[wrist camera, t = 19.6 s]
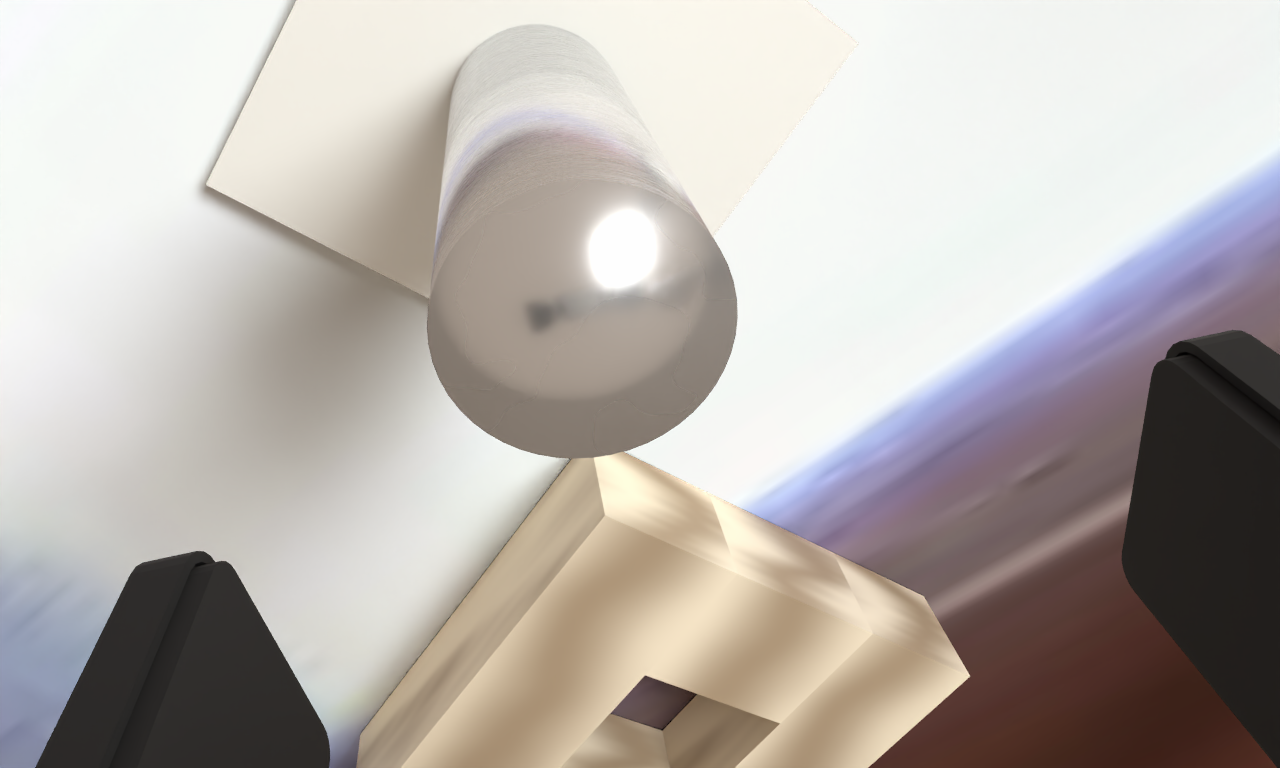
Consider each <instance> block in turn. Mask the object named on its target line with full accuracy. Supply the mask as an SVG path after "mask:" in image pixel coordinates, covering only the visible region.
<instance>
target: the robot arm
mask: <svg viewBox="0 0 1280 768" xmlns="http://www.w3.org/2000/svg"><path fill="white" fill-rule="evenodd" d="M1122 564H1123V569H1124V572H1125V575H1126V578H1127V580H1128V582H1129V584H1130V586H1131V587H1132V589H1133V590H1134V592H1135V593H1136V594H1137V595H1138V596H1139V598H1140V599H1141V600H1142V601H1143V603H1144V604H1145V605H1146V606H1147V608H1148V609H1149V610H1150V611H1151V612H1152V614H1153V615H1154V616H1155V617H1156V619H1157V620H1158V621H1159V622H1160V624H1161V625H1162V626H1163V627H1164V628H1165V630H1166V631H1167V632H1168V633H1169V635H1170V636H1171V637H1172V638H1173V640H1174V641H1175V642H1176V643H1177V644H1178V646H1179V647H1180V648H1181V649H1182V651H1183V652H1184V653H1185V654H1186V656H1187V657H1188V658H1189V659H1190V660H1191V662H1192V663H1193V664H1194V665H1195V667H1196V668H1197V669H1198V670H1199V672H1200V673H1201V674H1202V675H1203V676H1204V678H1205V679H1206V680H1207V681H1208V683H1209V684H1210V685H1211V686H1212V688H1213V689H1214V690H1215V691H1216V692H1217V694H1218V695H1219V696H1220V697H1221V699H1222V700H1223V701H1224V702H1225V704H1226V705H1227V706H1228V707H1229V708H1230V710H1231V711H1232V712H1233V713H1234V715H1235V716H1236V717H1237V718H1238V720H1239V721H1240V722H1241V723H1242V725H1243V726H1244V727H1245V728H1246V729H1247V731H1248V732H1249V733H1250V734H1251V736H1252V737H1253V738H1254V739H1255V741H1256V742H1257V743H1258V744H1259V745H1260V747H1261V748H1262V749H1263V750H1264V752H1265V753H1266V754H1267V755H1268V757H1269V758H1270V759H1271V760H1272V761H1273V763H1274V764H1275V765H1276V766H1277V768H1280V355H1279V354H1277V353H1276V352H1274V351H1273V350H1272V349H1270V348H1269V347H1267V346H1266V345H1264V344H1263V343H1262V342H1260V341H1259V340H1257V339H1256V338H1254V337H1253V336H1252V335H1250V334H1247V333H1245V332H1243V331H1238V330H1231V331H1226V332H1221V333H1217V334H1212V335H1207V336H1203V337H1198V338H1193V339H1189V340H1184V341H1180V342H1178V343H1176V344H1173V345H1172V347H1171V348H1170V349H1169V350H1168V352H1167V355H1166V358H1165V360H1162V361H1160V362H1158V363H1157V364H1156V365H1155V367H1154V369H1153V372H1152V376H1151V382H1150V388H1149V394H1148V400H1147V406H1146V412H1145V418H1144V424H1143V430H1142V436H1141V442H1140V448H1139V454H1138V460H1137V466H1136V472H1135V478H1134V484H1133V490H1132V496H1131V502H1130V508H1129V514H1128V520H1127V526H1126V532H1125V538H1124V544H1123V550H1122ZM329 762H330V748H329V740H328V736H327V732H326V730H325V728H324V726H323V724H322V722H321V720H320V719H319V717H318V715H317V713H316V712H315V710H314V708H313V706H312V705H311V703H310V701H309V699H308V698H307V696H306V694H305V692H304V691H303V689H302V687H301V685H300V684H299V682H298V680H297V678H296V677H295V675H294V673H293V671H292V669H291V668H290V666H289V664H288V662H287V661H286V659H285V657H284V655H283V654H282V652H281V650H280V648H279V647H278V645H277V643H276V641H275V640H274V638H273V636H272V634H271V633H270V631H269V629H268V627H267V626H266V624H265V622H264V620H263V619H262V617H261V615H260V613H259V612H258V610H257V608H256V606H255V605H254V603H253V601H252V599H251V598H250V596H249V594H248V592H247V591H246V589H245V587H244V585H243V584H242V582H241V580H240V578H239V577H238V575H237V573H236V571H235V570H234V568H233V567H232V566H231V564H229V563H228V562H226V561H219V562H215V561H214V560H213V559H212V557H211V556H210V555H208V554H207V553H205V552H203V551H195V552H191V553H186V554H181V555H176V556H172V557H167V558H162V559H158V560H153V561H148V562H144V563H142V564H140V565H138V566H136V567H135V569H134V570H133V572H132V573H131V574H130V576H129V578H128V580H127V582H126V584H125V587H124V589H123V591H122V593H121V595H120V597H119V599H118V601H117V603H116V605H115V607H114V609H113V611H112V613H111V615H110V617H109V619H108V621H107V623H106V625H105V627H104V629H103V631H102V633H101V635H100V637H99V639H98V641H97V643H96V645H95V647H94V649H93V652H92V654H91V656H90V658H89V660H88V662H87V664H86V666H85V668H84V670H83V672H82V674H81V676H80V678H79V680H78V682H77V684H76V686H75V688H74V690H73V692H72V694H71V696H70V698H69V700H68V702H67V704H66V706H65V708H64V710H63V712H62V714H61V717H60V719H59V721H58V723H57V725H56V727H55V729H54V731H53V733H52V735H51V737H50V739H49V741H48V743H47V745H46V747H45V749H44V751H43V753H42V755H41V757H40V759H39V761H38V763H37V765H36V767H35V768H329Z"/></svg>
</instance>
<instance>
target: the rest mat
mask: <svg viewBox="0 0 1280 768" xmlns="http://www.w3.org/2000/svg"><path fill="white" fill-rule="evenodd" d="M528 24H544V25H550V26H556V27H559V28H562V29H565V30H568V31H570V32H572V33H574V34H577V35H578V36H580V37H582V38H583V39H585V40H586V41H588V42H589V43H590V44H591V45H592V46H594V47H595V48H596V49H597V50H598V51H599V52H600V53H601V54H602V55H603V57H604V58H605V59H606V61H607V62H608V63H609V65H610V66H611V68H612V70H613V71H614V73H615V75H616V76H617V78H618V80H619V81H620V83H621V85H622V86H623V88H624V90H625V91H626V93H627V95H628V96H629V98H630V100H631V101H632V103H633V105H634V106H635V108H636V110H637V111H638V113H639V115H640V116H641V118H642V120H643V121H644V123H645V125H646V126H647V128H648V130H649V131H650V133H651V135H652V136H653V138H654V140H655V141H656V143H657V145H658V146H659V148H660V150H661V151H662V153H663V155H664V156H665V158H666V160H667V161H668V163H669V165H670V166H671V168H672V170H673V171H674V173H675V175H676V177H677V178H678V180H679V182H680V183H681V185H682V187H683V188H684V190H685V192H686V193H687V195H688V197H689V198H690V200H691V202H692V203H693V205H694V207H695V208H696V210H697V212H698V213H699V215H700V217H701V218H702V220H703V222H704V223H705V225H706V227H707V228H708V230H709V232H710V233H711V235H712V237H714V235H715V234H716V233H717V231H718V230H719V229H720V227H721V226H722V225H723V223H724V222H725V221H726V219H727V218H728V217H729V215H730V214H731V213H732V211H733V210H734V209H735V207H736V206H737V205H738V203H739V202H740V201H741V200H742V198H743V197H744V196H745V194H746V193H747V192H748V190H749V189H750V188H751V186H752V185H753V184H754V182H755V181H756V180H757V178H758V177H759V176H760V174H761V173H762V172H763V170H764V169H765V168H766V166H767V165H768V164H769V162H770V161H771V160H772V158H773V157H774V156H775V154H776V153H777V152H778V150H779V149H780V148H781V146H782V145H783V144H784V142H785V141H786V140H787V138H788V137H789V136H790V134H791V133H792V132H793V130H794V129H795V128H796V126H797V125H798V124H799V122H800V121H801V120H802V118H803V117H804V116H805V115H806V113H807V112H808V111H809V109H810V108H811V107H812V105H813V104H814V103H815V101H816V100H817V99H818V97H819V96H820V95H821V93H822V92H823V91H824V89H825V88H826V87H827V85H828V84H829V83H830V81H831V80H832V79H833V77H834V76H835V75H836V73H837V72H838V71H839V69H840V68H841V67H842V65H843V64H844V63H845V61H846V60H847V59H848V57H849V56H850V55H851V53H852V52H853V51H854V49H855V48H856V47H857V45H858V44H859V43H858V42H857V41H855V40H854V39H853V38H852V37H851V36H849V35H848V34H847V33H846V32H844V31H843V30H842V29H841V28H840V27H838V26H837V25H836V24H835V23H834V22H832V21H831V20H830V19H829V18H827V17H826V16H825V15H824V14H823V13H821V12H820V11H819V10H818V9H816V8H815V7H814V6H813V5H812V4H810V3H809V2H808V1H807V0H296V2H295V4H294V6H293V8H292V10H291V12H290V14H289V16H288V18H287V20H286V22H285V24H284V27H283V29H282V31H281V33H280V35H279V37H278V39H277V41H276V43H275V45H274V47H273V49H272V51H271V53H270V55H269V57H268V59H267V61H266V63H265V65H264V67H263V69H262V71H261V73H260V75H259V77H258V79H257V81H256V83H255V85H254V88H253V90H252V92H251V94H250V96H249V98H248V100H247V102H246V104H245V106H244V108H243V110H242V112H241V114H240V116H239V118H238V120H237V122H236V124H235V126H234V128H233V130H232V132H231V134H230V136H229V138H228V140H227V142H226V144H225V146H224V149H223V151H222V153H221V155H220V157H219V159H218V161H217V163H216V165H215V167H214V169H213V171H212V173H211V175H210V177H209V179H208V181H207V183H206V185H207V186H209V187H211V188H213V189H215V190H217V191H219V192H221V193H223V194H225V195H227V196H229V197H230V198H232V199H234V200H236V201H238V202H240V203H242V204H244V205H246V206H248V207H250V208H252V209H254V210H256V211H258V212H260V213H262V214H264V215H266V216H268V217H270V218H272V219H274V220H276V221H277V222H279V223H281V224H283V225H285V226H287V227H289V228H291V229H293V230H295V231H297V232H299V233H301V234H303V235H305V236H307V237H309V238H311V239H313V240H315V241H317V242H319V243H321V244H322V245H324V246H326V247H328V248H330V249H332V250H334V251H336V252H338V253H340V254H342V255H344V256H346V257H348V258H350V259H352V260H354V261H356V262H358V263H360V264H362V265H364V266H366V267H367V268H369V269H371V270H373V271H375V272H377V273H379V274H381V275H383V276H385V277H387V278H389V279H391V280H393V281H395V282H397V283H399V284H401V285H403V286H405V287H407V288H409V289H411V290H412V291H414V292H416V293H418V294H420V295H422V296H424V297H426V298H428V299H429V297H430V287H431V278H432V268H433V259H434V250H435V240H436V231H437V222H438V212H439V203H440V194H441V184H442V175H443V165H444V156H445V147H446V137H447V128H448V119H449V109H450V100H451V94H452V89H453V85H454V83H455V80H456V77H457V75H458V73H459V71H460V69H461V67H462V65H463V63H464V62H465V61H466V59H467V58H468V56H469V55H470V54H471V53H472V52H473V51H474V50H475V49H476V48H477V47H478V46H479V45H480V44H481V43H483V42H484V41H485V40H486V39H488V38H490V37H491V36H493V35H495V34H496V33H498V32H501V31H503V30H506V29H508V28H512V27H516V26H520V25H528Z"/></svg>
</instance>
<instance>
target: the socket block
mask: <svg viewBox="0 0 1280 768" xmlns="http://www.w3.org/2000/svg"><path fill="white" fill-rule="evenodd" d="M645 675H646V676H649V677H652V678H654V679H657V680H660V681H663V682H665V683H668V684H671V685H674V686H677V687H679V688H682V689H685V690H688V691H691V692H693V693H696V694H697V695H696V696H695V697H694V698H693V699H692V700H691V701H690V702H689V704H688V705H687V706H686V707H685V708H684V709H683V710H682V711H681V712H680V713H679V714H678V715H677V716H676V717H675V718H674V719H673V720H672V721H671V722H670V723H669V724H668V725H667V726H666V727H665V729H664V730H663V731H661V730H658V729H655V728H652V727H649V726H646V725H643V724H640V723H637V722H634V721H631V720H628V719H625V718H622V717H619V716H616V715H613V714H610V713H611V712H612V711H613V710H614V709H615V707H616V706H617V705H618V704H619V703H620V702H621V701H622V700H623V699H624V698H625V697H626V695H627V694H628V693H629V692H630V691H631V690H632V689H633V688H634V687H635V686H636V685H637V683H638V682H639V681H640V680H641V679H642V678H643V677H644V676H645ZM969 677H970V675H969V673H968V672H967V670H966V668H965V666H964V665H963V663H962V661H961V660H960V658H959V656H958V654H957V653H956V651H955V649H954V648H953V646H952V644H951V642H950V641H949V639H948V637H947V636H946V634H945V632H944V630H943V629H942V627H941V625H940V624H939V622H938V620H937V619H936V617H935V615H934V613H933V612H932V610H931V608H930V607H929V605H928V603H927V601H926V600H925V598H924V596H922V595H920V594H918V593H916V592H914V591H912V590H909V589H907V588H905V587H903V586H901V585H899V584H897V583H895V582H893V581H891V580H889V579H887V578H885V577H882V576H880V575H878V574H876V573H874V572H872V571H870V570H868V569H866V568H864V567H862V566H860V565H857V564H855V563H853V562H851V561H849V560H847V559H845V558H843V557H841V556H839V555H837V554H835V553H833V552H830V551H828V550H826V549H824V548H822V547H820V546H818V545H816V544H814V543H812V542H810V541H808V540H805V539H803V538H801V537H799V536H797V535H795V534H793V533H791V532H789V531H787V530H785V529H783V528H781V527H778V526H776V525H774V524H772V523H770V522H768V521H766V520H764V519H762V518H760V517H758V516H756V515H753V514H751V513H749V512H747V511H745V510H743V509H741V508H739V507H737V506H735V505H733V504H731V503H729V502H726V501H724V500H722V499H720V498H718V497H716V496H714V495H712V494H710V493H708V492H706V491H704V490H701V489H699V488H697V487H695V486H693V485H691V484H689V483H687V482H685V481H683V480H681V479H679V478H676V477H674V476H672V475H670V474H668V473H666V472H664V471H662V470H660V469H658V468H656V467H654V466H652V465H649V464H647V463H645V462H643V461H641V460H639V459H637V458H635V457H633V456H631V455H629V454H627V453H624V452H620V453H616V454H612V455H607V456H600V457H594V458H576V459H573V458H572V459H571V460H570V462H569V463H568V464H567V465H566V467H565V468H564V469H563V471H562V472H561V473H560V475H559V476H558V477H557V478H556V480H555V481H554V482H553V484H552V485H551V486H550V488H549V489H548V490H547V492H546V493H545V494H544V495H543V497H542V498H541V499H540V501H539V502H538V503H537V505H536V506H535V507H534V508H533V510H532V511H531V512H530V514H529V515H528V516H527V518H526V519H525V520H524V522H523V523H522V524H521V525H520V527H519V528H518V529H517V531H516V532H515V533H514V535H513V536H512V537H511V538H510V540H509V541H508V542H507V544H506V545H505V546H504V548H503V549H502V550H501V551H500V553H499V554H498V555H497V557H496V558H495V559H494V561H493V562H492V563H491V565H490V566H489V567H488V568H487V570H486V571H485V572H484V574H483V575H482V576H481V578H480V579H479V580H478V581H477V583H476V584H475V585H474V587H473V588H472V589H471V591H470V592H469V593H468V595H467V596H466V597H465V598H464V600H463V601H462V602H461V604H460V605H459V606H458V608H457V609H456V610H455V611H454V613H453V614H452V615H451V617H450V618H449V619H448V621H447V622H446V623H445V625H444V626H443V627H442V628H441V630H440V631H439V632H438V634H437V635H436V636H435V638H434V639H433V640H432V641H431V643H430V644H429V645H428V647H427V648H426V649H425V651H424V652H423V653H422V655H421V656H420V657H419V658H418V660H417V661H416V662H415V664H414V665H413V666H412V668H411V669H410V670H409V671H408V673H407V674H406V675H405V677H404V678H403V679H402V681H401V682H400V683H399V685H398V686H397V687H396V688H395V690H394V691H393V692H392V694H391V695H390V696H389V698H388V699H387V700H386V701H385V703H384V704H383V705H382V707H381V708H380V709H379V711H378V712H377V713H376V715H375V716H374V717H373V718H372V720H371V721H370V722H369V724H368V725H367V726H366V728H365V729H364V730H363V731H362V733H361V734H360V741H359V750H358V759H357V767H356V768H868V767H869V766H870V765H871V764H873V763H874V762H875V761H876V760H877V759H878V758H879V757H880V756H881V755H883V754H884V753H885V752H886V751H887V750H888V749H889V748H890V747H892V746H893V745H894V744H895V743H896V742H897V741H898V740H899V739H900V738H902V737H903V736H904V735H905V734H906V733H907V732H908V731H909V730H911V729H912V728H913V727H914V726H915V725H916V724H917V723H918V722H920V721H921V720H922V719H923V718H924V717H925V716H926V715H927V714H928V713H930V712H931V711H932V710H933V709H934V708H935V707H936V706H937V705H939V704H940V703H941V702H942V701H943V700H944V699H945V698H946V697H948V696H949V695H950V694H951V693H952V692H953V691H954V690H955V689H956V688H958V687H959V686H960V685H961V684H962V683H963V682H964V681H965V680H967V679H968V678H969Z"/></svg>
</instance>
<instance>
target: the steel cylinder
mask: <svg viewBox="0 0 1280 768" xmlns="http://www.w3.org/2000/svg"><path fill="white" fill-rule="evenodd" d="M736 326H737V298H736V292H735V287H734V282H733V279H732V276H731V273H730V270H729V267H728V264H727V262H726V260H725V258H724V256H723V254H722V252H721V250H720V248H719V247H718V245H717V243H716V242H715V240H714V238H713V237H712V235H711V233H710V232H709V230H708V228H707V227H706V225H705V223H704V222H703V220H702V218H701V217H700V215H699V213H698V212H697V210H696V208H695V207H694V205H693V203H692V202H691V200H690V198H689V197H688V195H687V193H686V192H685V190H684V188H683V187H682V185H681V183H680V182H679V180H678V178H677V177H676V175H675V173H674V171H673V170H672V168H671V166H670V165H669V163H668V161H667V160H666V158H665V156H664V155H663V153H662V151H661V150H660V148H659V146H658V145H657V143H656V141H655V140H654V138H653V136H652V135H651V133H650V131H649V130H648V128H647V126H646V125H645V123H644V121H643V120H642V118H641V116H640V115H639V113H638V111H637V110H636V108H635V106H634V105H633V103H632V101H631V100H630V98H629V96H628V95H627V93H626V91H625V90H624V88H623V86H622V85H621V83H620V81H619V80H618V78H617V76H616V75H615V73H614V71H613V70H612V68H611V66H610V65H609V63H608V62H607V61H606V59H605V58H604V57H603V55H602V54H601V53H600V52H599V51H598V50H597V49H596V48H595V47H594V46H592V45H591V44H590V43H589V42H588V41H586V40H585V39H583V38H582V37H580V36H578V35H577V34H574V33H572V32H570V31H568V30H565V29H562V28H559V27H556V26H550V25H544V24H528V25H520V26H516V27H512V28H508V29H506V30H503V31H501V32H498V33H496V34H495V35H493V36H491V37H490V38H488V39H486V40H485V41H484V42H483V43H481V44H480V45H479V46H478V47H477V48H476V49H475V50H474V51H473V52H472V53H471V54H470V55H469V56H468V58H467V59H466V61H465V62H464V63H463V65H462V67H461V69H460V71H459V73H458V75H457V77H456V80H455V83H454V85H453V89H452V94H451V100H450V109H449V119H448V128H447V137H446V147H445V156H444V165H443V175H442V184H441V194H440V203H439V212H438V222H437V231H436V240H435V250H434V259H433V268H432V278H431V287H430V297H429V306H428V320H427V332H428V344H429V349H430V353H431V357H432V362H433V365H434V367H435V370H436V372H437V375H438V377H439V380H440V381H441V383H442V385H443V387H444V388H445V390H446V392H447V394H448V395H449V397H450V398H451V399H452V400H453V402H454V403H455V404H456V406H457V407H458V408H459V409H460V410H461V411H462V412H463V413H464V414H465V415H466V416H467V417H468V418H469V419H470V420H471V421H472V422H473V423H474V424H476V425H477V426H478V427H480V428H481V429H482V430H484V431H485V432H486V433H488V434H490V435H491V436H493V437H495V438H497V439H498V440H500V441H502V442H504V443H506V444H509V445H511V446H513V447H516V448H518V449H521V450H524V451H528V452H531V453H535V454H538V455H544V456H550V457H556V458H573V459H576V458H594V457H600V456H607V455H612V454H616V453H620V452H624V451H627V450H631V449H633V448H636V447H638V446H641V445H643V444H646V443H648V442H650V441H652V440H654V439H656V438H658V437H660V436H662V435H664V434H665V433H667V432H668V431H669V430H671V429H672V428H674V427H675V426H677V425H678V424H680V423H681V422H682V421H683V420H684V419H686V418H687V417H688V416H689V415H690V414H692V413H693V412H694V411H695V410H696V408H697V407H698V406H699V405H700V404H701V403H702V402H703V401H704V400H705V399H706V397H707V396H708V395H709V393H710V392H711V391H712V389H713V388H714V386H715V385H716V383H717V382H718V380H719V378H720V376H721V374H722V373H723V371H724V369H725V367H726V364H727V362H728V359H729V357H730V354H731V351H732V347H733V343H734V339H735V335H736Z"/></svg>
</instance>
